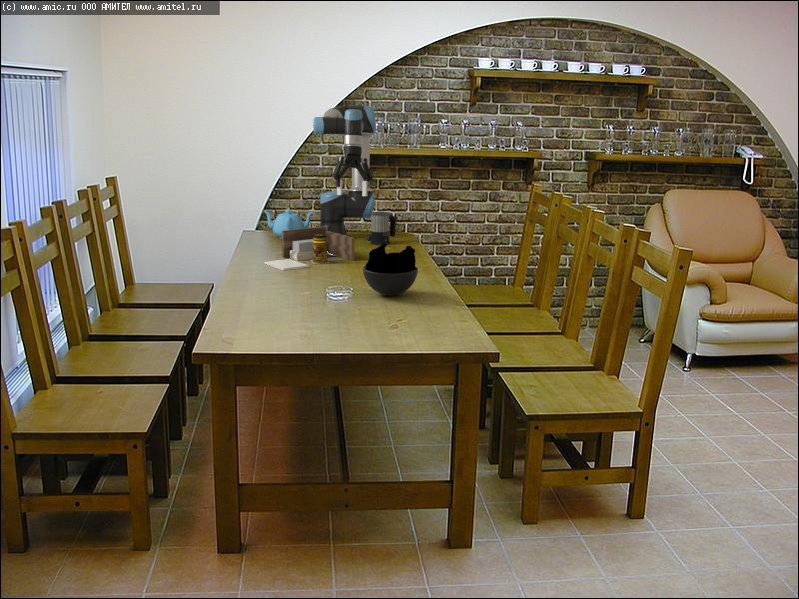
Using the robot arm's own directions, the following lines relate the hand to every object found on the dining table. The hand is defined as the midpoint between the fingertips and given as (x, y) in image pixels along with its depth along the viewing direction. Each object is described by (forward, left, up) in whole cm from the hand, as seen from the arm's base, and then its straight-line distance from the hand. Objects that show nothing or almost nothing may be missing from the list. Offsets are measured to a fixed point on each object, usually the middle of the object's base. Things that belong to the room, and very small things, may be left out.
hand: (352, 195), depth 374 cm
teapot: (-58, +2, -28) cm, 64 cm away
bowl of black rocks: (+64, -27, -28) cm, 75 cm away
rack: (-6, -14, -28) cm, 32 cm away
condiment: (-1, -16, -28) cm, 32 cm away
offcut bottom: (-11, -16, -28) cm, 34 cm away
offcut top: (-11, -16, -24) cm, 31 cm away
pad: (-2, -32, -28) cm, 43 cm away
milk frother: (-26, +33, -28) cm, 50 cm away
